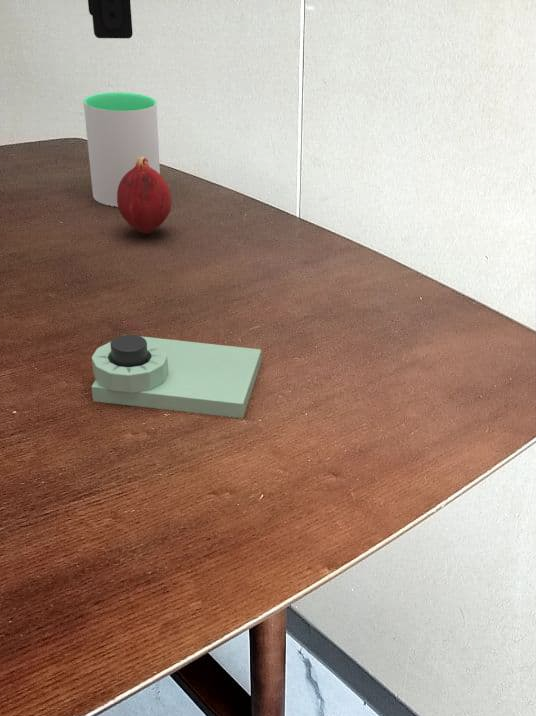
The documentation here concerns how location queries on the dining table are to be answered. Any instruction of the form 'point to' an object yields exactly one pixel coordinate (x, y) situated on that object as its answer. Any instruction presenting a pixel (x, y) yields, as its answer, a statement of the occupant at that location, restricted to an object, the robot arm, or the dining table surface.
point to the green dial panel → (180, 377)
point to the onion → (144, 197)
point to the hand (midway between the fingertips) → (110, 26)
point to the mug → (119, 139)
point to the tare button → (129, 351)
